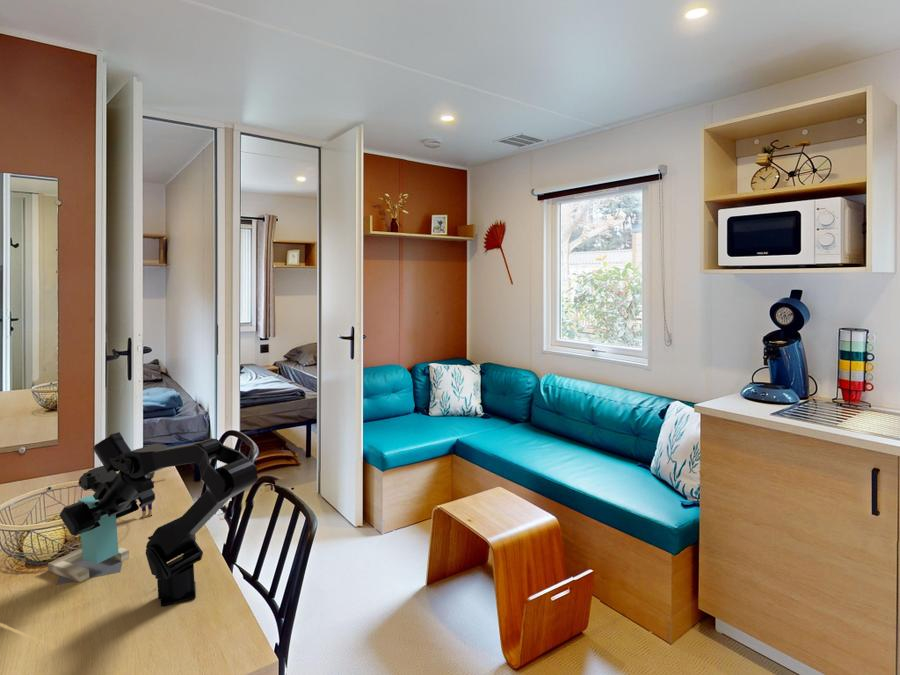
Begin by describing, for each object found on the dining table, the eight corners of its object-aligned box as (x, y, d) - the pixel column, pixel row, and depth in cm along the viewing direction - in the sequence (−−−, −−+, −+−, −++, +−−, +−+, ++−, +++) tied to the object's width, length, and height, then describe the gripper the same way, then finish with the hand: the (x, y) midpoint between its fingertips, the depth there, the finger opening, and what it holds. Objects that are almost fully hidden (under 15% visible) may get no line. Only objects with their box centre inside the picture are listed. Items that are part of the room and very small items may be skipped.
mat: (125, 549, 133) (125, 548, 133) (120, 573, 123) (120, 571, 122) (66, 560, 128) (66, 559, 128) (56, 586, 117) (55, 584, 117)
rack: (129, 557, 129) (128, 549, 129) (80, 582, 118) (79, 573, 118) (98, 548, 133) (98, 540, 133) (48, 571, 123) (47, 563, 122)
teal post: (118, 553, 125) (114, 495, 124) (97, 563, 120) (92, 503, 119) (104, 549, 127) (99, 491, 125) (82, 559, 122) (77, 500, 121)
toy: (164, 508, 157) (162, 458, 155) (171, 514, 153) (169, 463, 151) (124, 520, 149) (121, 467, 148) (130, 526, 145) (127, 473, 144)
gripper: (144, 445, 128) (115, 483, 134) (61, 471, 111) (32, 513, 116) (169, 483, 126) (139, 519, 131) (89, 515, 109) (58, 555, 114)
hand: (94, 525), depth 123 cm, fingers closed on teal post, 5 cm apart
